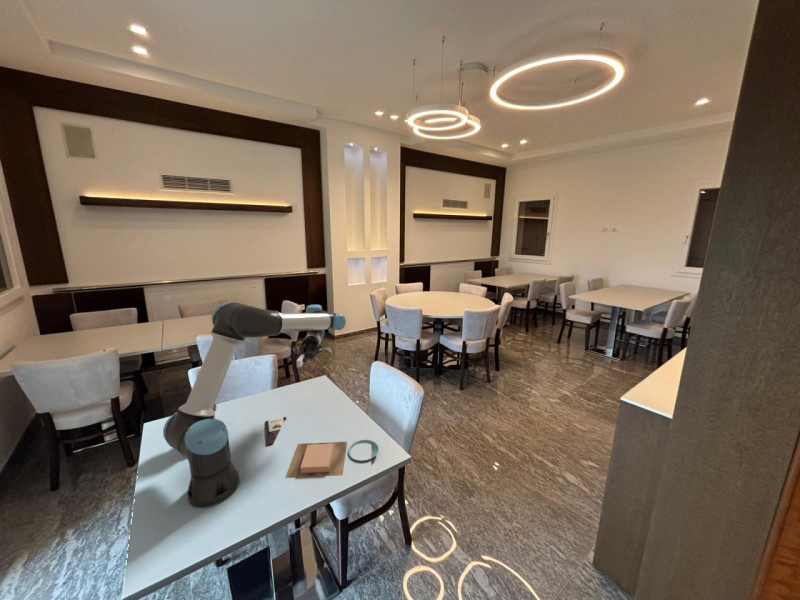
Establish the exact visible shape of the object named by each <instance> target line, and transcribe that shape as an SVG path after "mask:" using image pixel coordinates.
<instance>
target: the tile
mask: <svg viewBox="0 0 800 600" xmlns="http://www.w3.org/2000/svg"><path fill="white" fill-rule="evenodd" d="M333 450H334V447H333V444H318V445H307V448H306V452H305V455H304V458H303V461H302V464H301V467H300V471H301V473H316V472H329V469H330V464H331V460H332V455H333Z"/></svg>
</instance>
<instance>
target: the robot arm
mask: <svg viewBox="0 0 800 600" xmlns="http://www.w3.org/2000/svg"><path fill="white" fill-rule="evenodd" d="M211 322H212V325H213V326H212V329H211V332H210V334H211V336H212V340H211V343H210V346H209V348H208V351H207V353H206V355H205V358H204V360H203V362H202V365H201V367H200V369H199V371H198V374H197V376H196V379H195V381H194V384H193V386H192V388H191V391H190V393H189V395H188V398H187V401H186V402H185V403H184V404H182V405H180V406H179V407H178V409H177V411H176V412H174V414H173V415H170V417H169V418H168V419H167V420H166V421H165V423H164V426H163V430H162V434H163V438H164V440H165V441H166V443H167V444H168V446H169V447H171V448H173V449H174V450H176V451H177V452H178V453H179V454H181V455H182V456H184V458H186V459H187V461H188V465H189V471H190V479H189V483H188V488H187V500H188V503H189V504H190V506H192V507H194V508H208V507H212V506H215V505H218V504H219V503H222V502H223V501H225V500H227V499H228V498H229V497H230V496H232V495H233V494H234V492H235V491H237V489H238V487H239V485H240V482H241V481H240V474H239V471H238V470H237V469H236V467H235V465H234V464H233V462H232V458H231V450H230V448H231V447H230V440H229V431H228V428H227V425H226V424H225V422H224V421H222V420H220V419H217V418H215V419H213V417H214V416H215V414H216V411H215V412H214V410H213V405H214V403H215V404H216V401H217V397H218V395H219V393H220V390H221V388H222V385H223V382H224V380H225V378H226V375H227V372H228V370H229V367H230V365H231V364H232V360H233V358H234V356H235V353H236V350H237V349H238V346H239V345H241V344H243V343H245V339H246V338H250V339H251V338H252V339H253V338H262V337H263V338H264V337H273V336H274V337H275V336H278V335H280V334H281V333H292V332H293V333H294V332H305V331H306V336H305V337H304V339H303V340H302V342H301V344H300V345H299V346H296V345H294V346H292V351H293V354H294V356H293V357H294V360H295V361H296V368H302V367H303V364H305V363H306V362H307V361H308V360H313V359H315V357H316V356H318V355H319V354H320V353H322V352H323V345H320V344H321V342H323V339H324V338H325V330H334V331H341V330H343V329H344V328H345V326H346V323H347V318H346V316H345V315H344V314H341V313H335V312H330V311H327V310H323V307H322V305H320V304H310V305H307V306H306V308H305V312H293V313H292V312H279V311H278V310H272V309H271V310H270V309H263V308H260V307H257V306H252V305H248V304H243V303H241V302H234V301H233V302H231V301H230V302H224V303H222V304H220V305H218V306H217V307H216V308H215V309H214V310H213V313H212V314H211Z"/></svg>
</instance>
